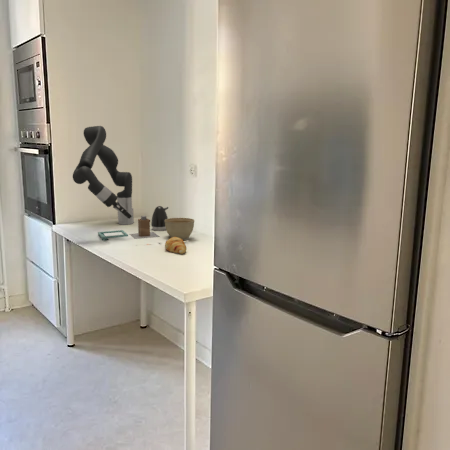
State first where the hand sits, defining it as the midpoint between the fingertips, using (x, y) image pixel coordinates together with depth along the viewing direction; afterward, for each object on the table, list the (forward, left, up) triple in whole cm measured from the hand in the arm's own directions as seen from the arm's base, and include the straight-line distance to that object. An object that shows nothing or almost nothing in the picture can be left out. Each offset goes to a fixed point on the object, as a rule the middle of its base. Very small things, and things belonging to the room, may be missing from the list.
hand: (128, 216), depth 244 cm
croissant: (+8, +37, -13) cm, 40 cm away
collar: (-7, +5, -11) cm, 14 cm away
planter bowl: (-13, +25, -13) cm, 31 cm away
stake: (-7, +5, -13) cm, 15 cm away
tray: (+1, -11, -13) cm, 17 cm away
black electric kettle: (-25, +2, -13) cm, 28 cm away
